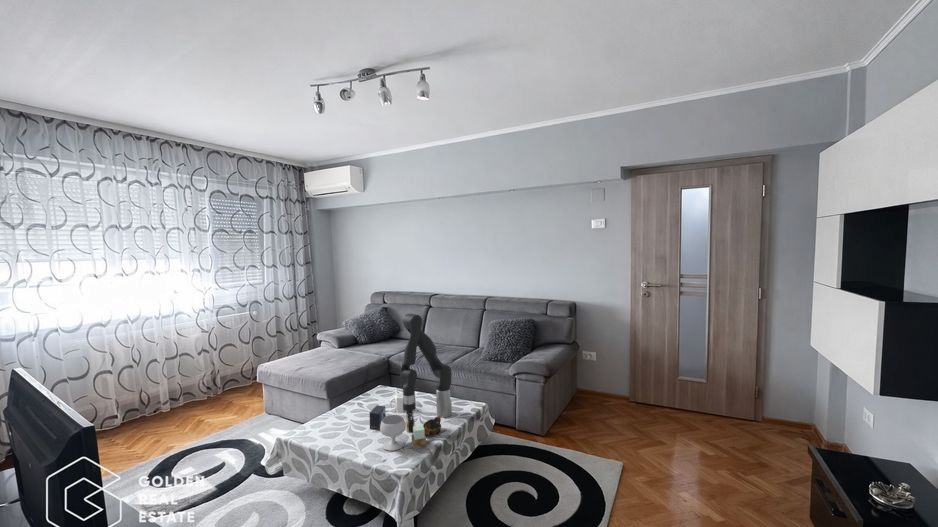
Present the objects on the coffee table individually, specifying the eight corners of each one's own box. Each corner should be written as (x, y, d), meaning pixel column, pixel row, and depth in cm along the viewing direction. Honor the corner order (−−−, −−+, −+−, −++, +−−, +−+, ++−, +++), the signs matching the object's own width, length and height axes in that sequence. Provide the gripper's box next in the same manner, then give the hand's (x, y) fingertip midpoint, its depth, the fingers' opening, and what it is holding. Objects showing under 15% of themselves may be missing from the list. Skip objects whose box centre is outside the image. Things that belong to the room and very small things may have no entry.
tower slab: (423, 440, 220) (423, 432, 220) (426, 447, 214) (426, 438, 213) (411, 443, 218) (411, 434, 218) (413, 449, 212) (413, 440, 211)
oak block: (413, 426, 236) (413, 417, 236) (414, 430, 232) (414, 421, 231) (405, 428, 235) (405, 418, 234) (406, 432, 230) (406, 422, 230)
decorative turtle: (446, 428, 233) (445, 416, 232) (432, 442, 220) (431, 429, 219) (432, 424, 238) (432, 412, 237) (418, 437, 225) (417, 424, 224)
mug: (407, 406, 266) (406, 392, 265) (408, 411, 257) (407, 397, 256) (389, 408, 263) (388, 394, 262) (389, 413, 254) (389, 399, 254)
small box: (379, 430, 233) (378, 413, 233) (369, 429, 235) (368, 412, 234) (386, 421, 244) (385, 405, 243) (376, 421, 245) (376, 405, 244)
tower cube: (422, 433, 219) (422, 424, 219) (424, 438, 214) (424, 429, 213) (413, 435, 217) (412, 426, 217) (414, 439, 212) (414, 431, 212)
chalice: (411, 444, 216) (410, 418, 215) (391, 455, 206) (390, 428, 205) (396, 436, 226) (395, 411, 225) (375, 446, 215) (374, 420, 214)
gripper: (417, 405, 226) (418, 433, 228) (413, 395, 240) (414, 422, 241) (404, 407, 224) (405, 435, 225) (401, 397, 238) (402, 424, 239)
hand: (410, 428), depth 233 cm, fingers closed on oak block, 4 cm apart
